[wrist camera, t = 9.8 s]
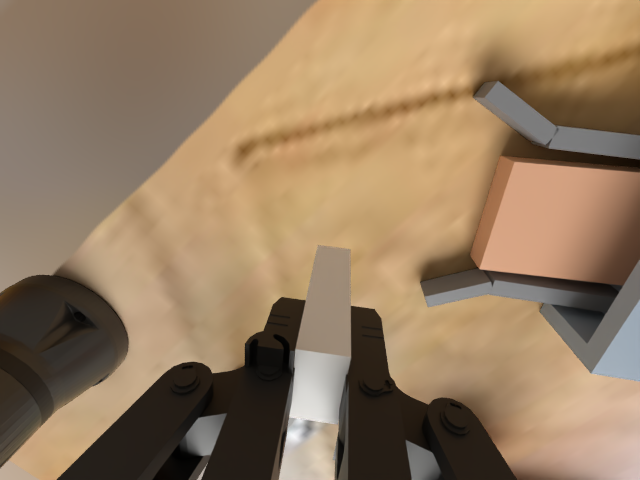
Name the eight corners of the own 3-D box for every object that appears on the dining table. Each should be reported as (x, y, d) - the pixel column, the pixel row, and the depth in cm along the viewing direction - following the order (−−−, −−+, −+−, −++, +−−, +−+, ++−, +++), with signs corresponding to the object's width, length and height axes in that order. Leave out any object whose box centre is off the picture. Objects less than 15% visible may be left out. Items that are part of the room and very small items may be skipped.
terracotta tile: (468, 253, 29) (479, 269, 27) (498, 154, 25) (514, 161, 23) (604, 268, 28) (630, 286, 26) (657, 168, 24) (694, 177, 22)
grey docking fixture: (417, 292, 31) (447, 398, 20) (478, 78, 23) (582, 62, 12) (609, 322, 30) (751, 450, 19) (745, 107, 22) (1124, 118, 11)
